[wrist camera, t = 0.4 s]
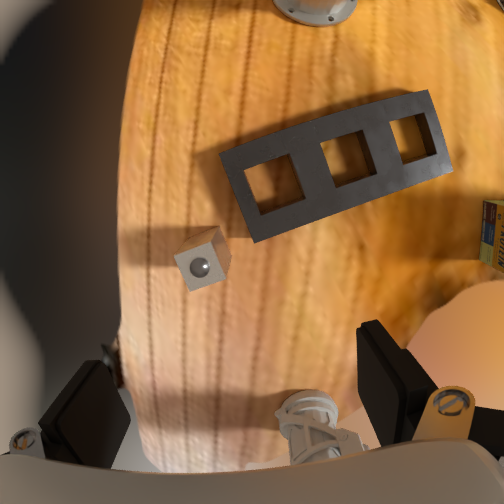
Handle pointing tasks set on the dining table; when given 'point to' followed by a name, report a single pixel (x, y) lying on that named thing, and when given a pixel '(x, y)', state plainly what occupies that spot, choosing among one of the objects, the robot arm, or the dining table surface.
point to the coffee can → (501, 3)
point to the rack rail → (317, 171)
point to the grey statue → (315, 428)
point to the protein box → (493, 234)
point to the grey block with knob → (204, 259)
